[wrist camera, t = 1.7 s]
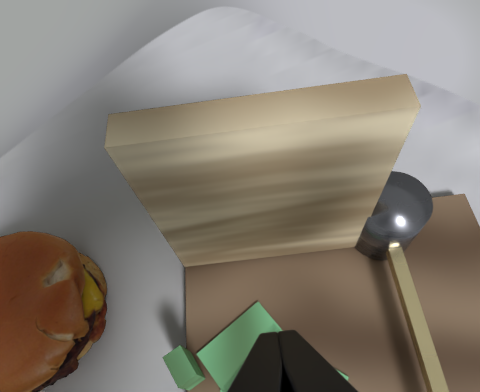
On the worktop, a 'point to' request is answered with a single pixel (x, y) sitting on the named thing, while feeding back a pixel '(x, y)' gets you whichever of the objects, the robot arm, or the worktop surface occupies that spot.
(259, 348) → the robot arm
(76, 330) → the burger
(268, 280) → the tuner board
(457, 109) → the worktop surface
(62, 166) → the worktop surface
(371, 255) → the wood grain plank
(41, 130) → the worktop surface
